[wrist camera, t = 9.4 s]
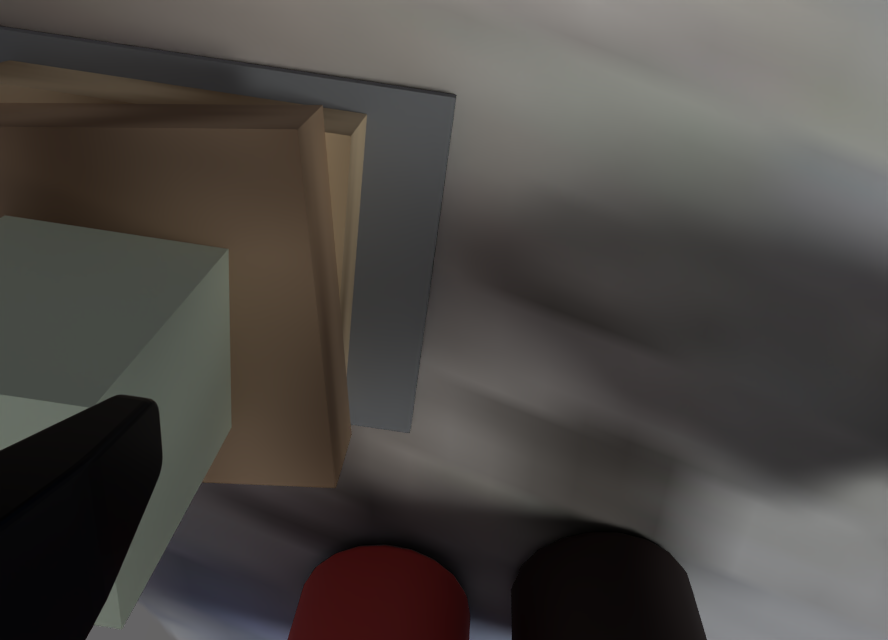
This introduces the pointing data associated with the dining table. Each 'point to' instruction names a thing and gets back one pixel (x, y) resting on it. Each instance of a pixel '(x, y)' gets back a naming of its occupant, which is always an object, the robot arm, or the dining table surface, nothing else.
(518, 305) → the dining table surface
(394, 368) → the mat
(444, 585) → the beer can
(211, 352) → the sage block
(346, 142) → the slab bottom
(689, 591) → the bottle
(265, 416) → the slab top
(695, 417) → the dining table surface
